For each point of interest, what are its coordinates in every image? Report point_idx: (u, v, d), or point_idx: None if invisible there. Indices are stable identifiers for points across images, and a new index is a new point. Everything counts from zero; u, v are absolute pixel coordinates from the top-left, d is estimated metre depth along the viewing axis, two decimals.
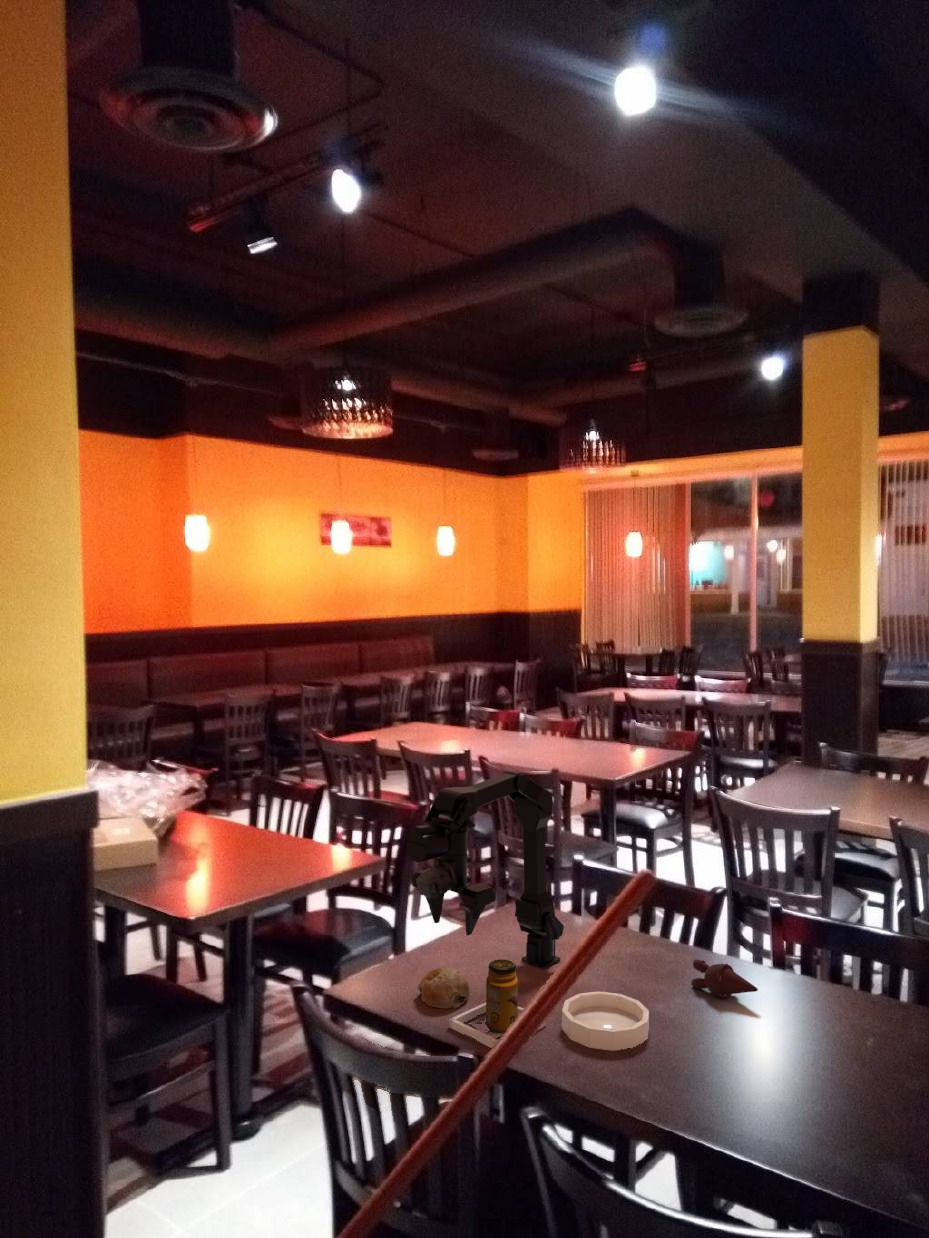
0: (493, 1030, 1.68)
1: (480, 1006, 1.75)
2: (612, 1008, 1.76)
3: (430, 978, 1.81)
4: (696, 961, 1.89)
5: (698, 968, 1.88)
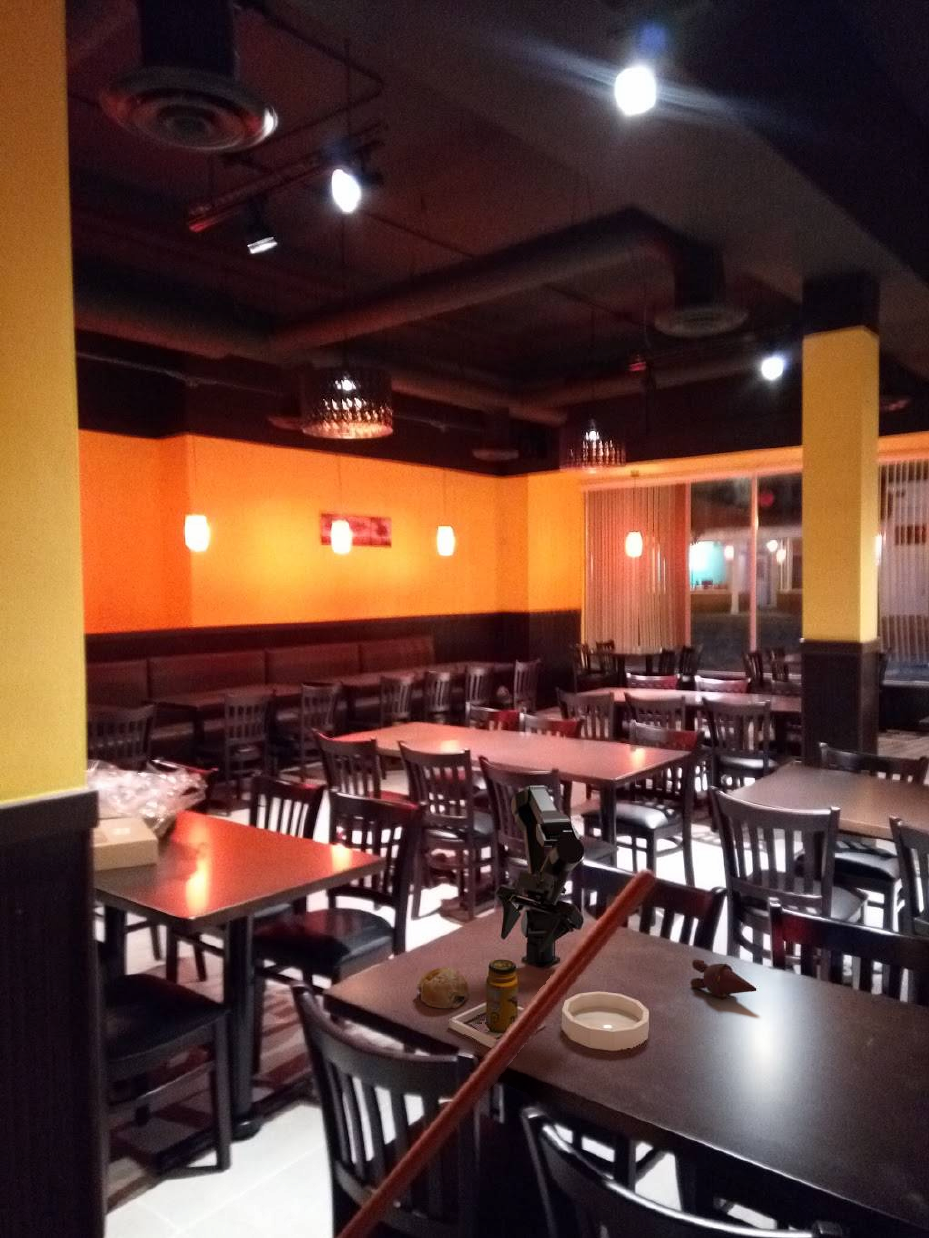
0: (493, 1030, 1.68)
1: (480, 1006, 1.75)
2: (612, 1008, 1.76)
3: (429, 978, 1.81)
4: (695, 961, 1.89)
5: (697, 968, 1.88)
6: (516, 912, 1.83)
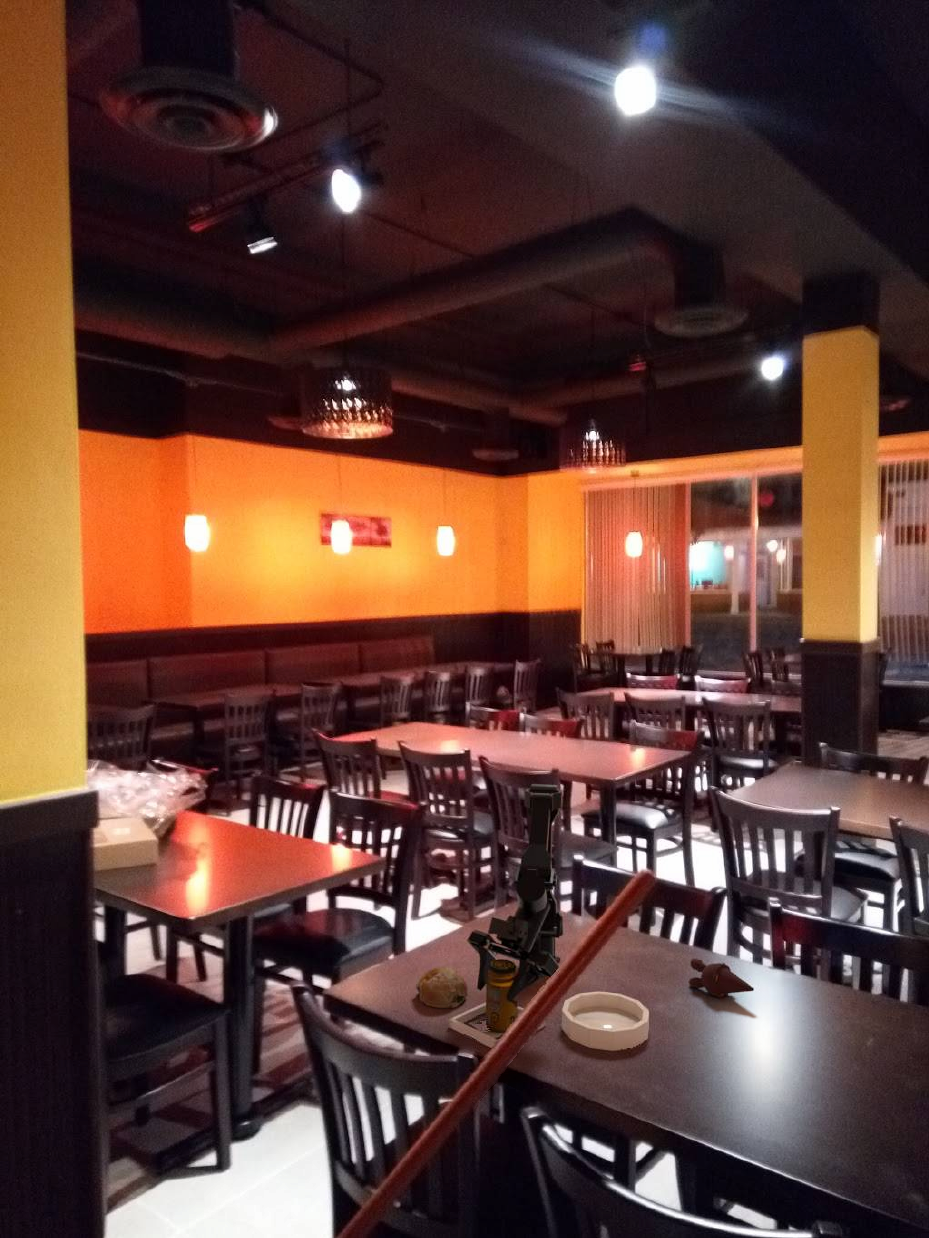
0: (493, 1030, 1.68)
1: (480, 1006, 1.75)
2: (612, 1008, 1.76)
3: (428, 978, 1.81)
4: (693, 960, 1.89)
5: (695, 967, 1.88)
6: None
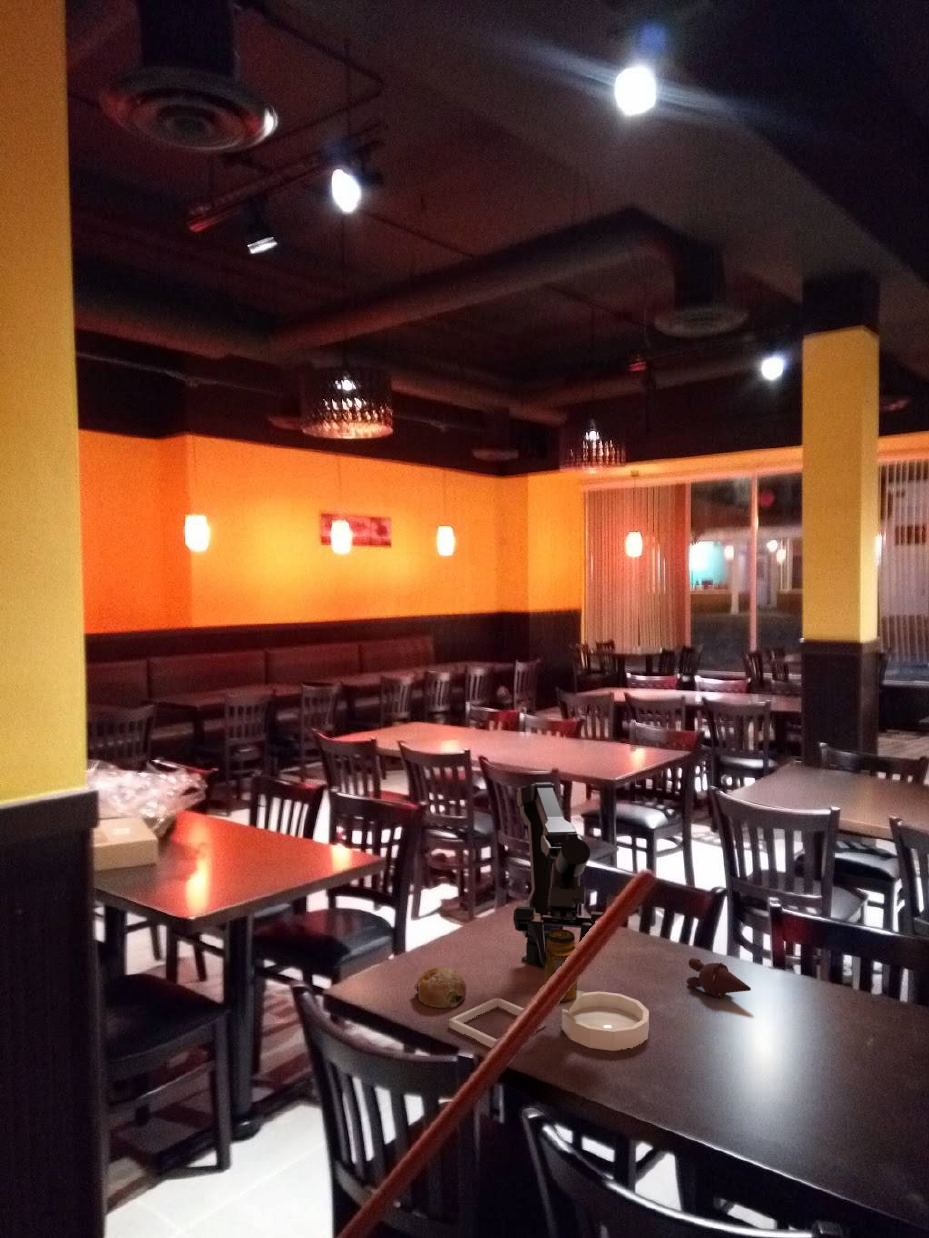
0: (560, 1001, 1.66)
1: (480, 1006, 1.75)
2: (612, 1008, 1.76)
3: (427, 978, 1.81)
4: (691, 960, 1.89)
5: (693, 967, 1.88)
6: None
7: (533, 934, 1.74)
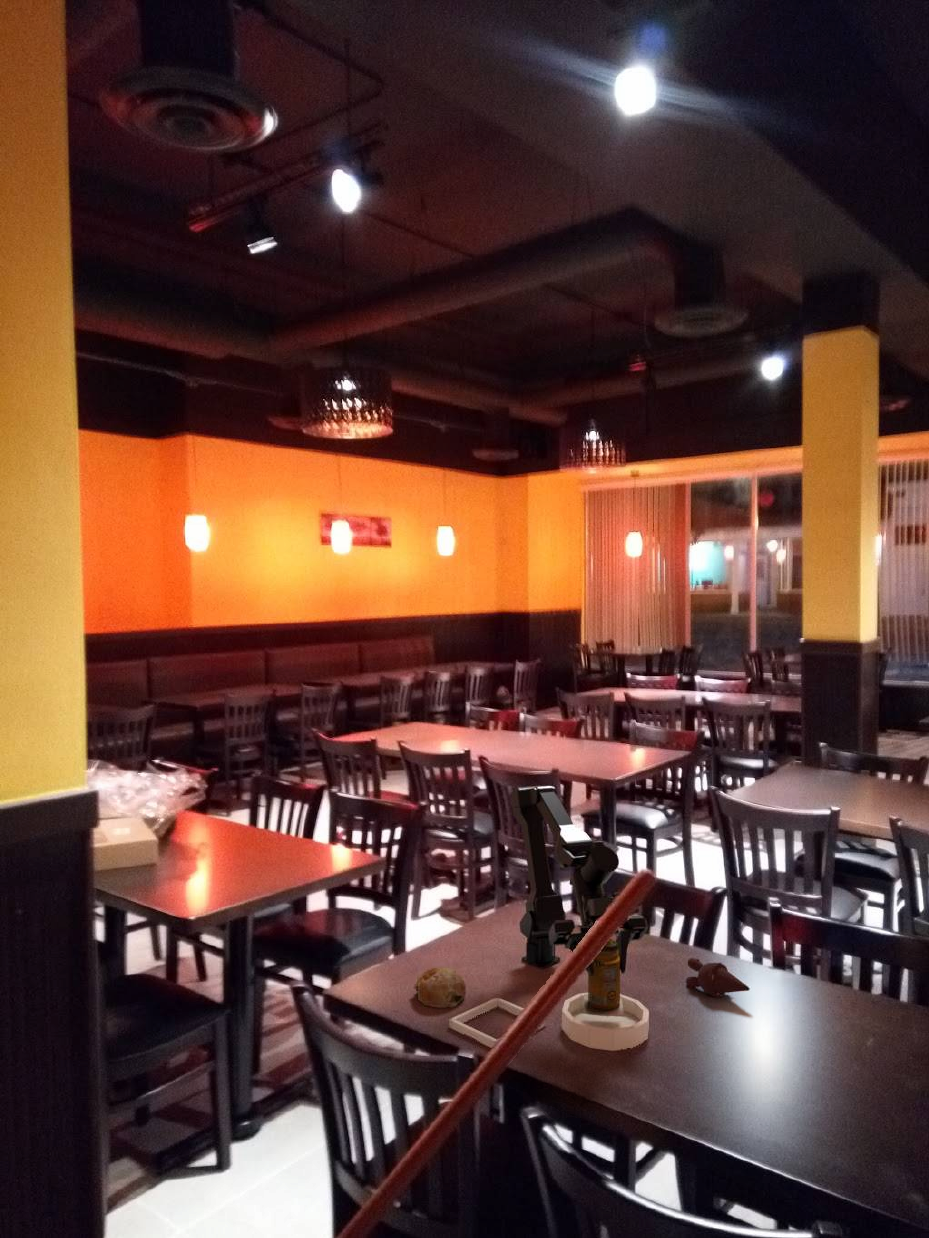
0: (610, 1009, 1.68)
1: (480, 1006, 1.75)
2: None
3: (426, 978, 1.81)
4: (690, 960, 1.89)
5: (692, 966, 1.88)
6: None
7: (569, 946, 1.73)
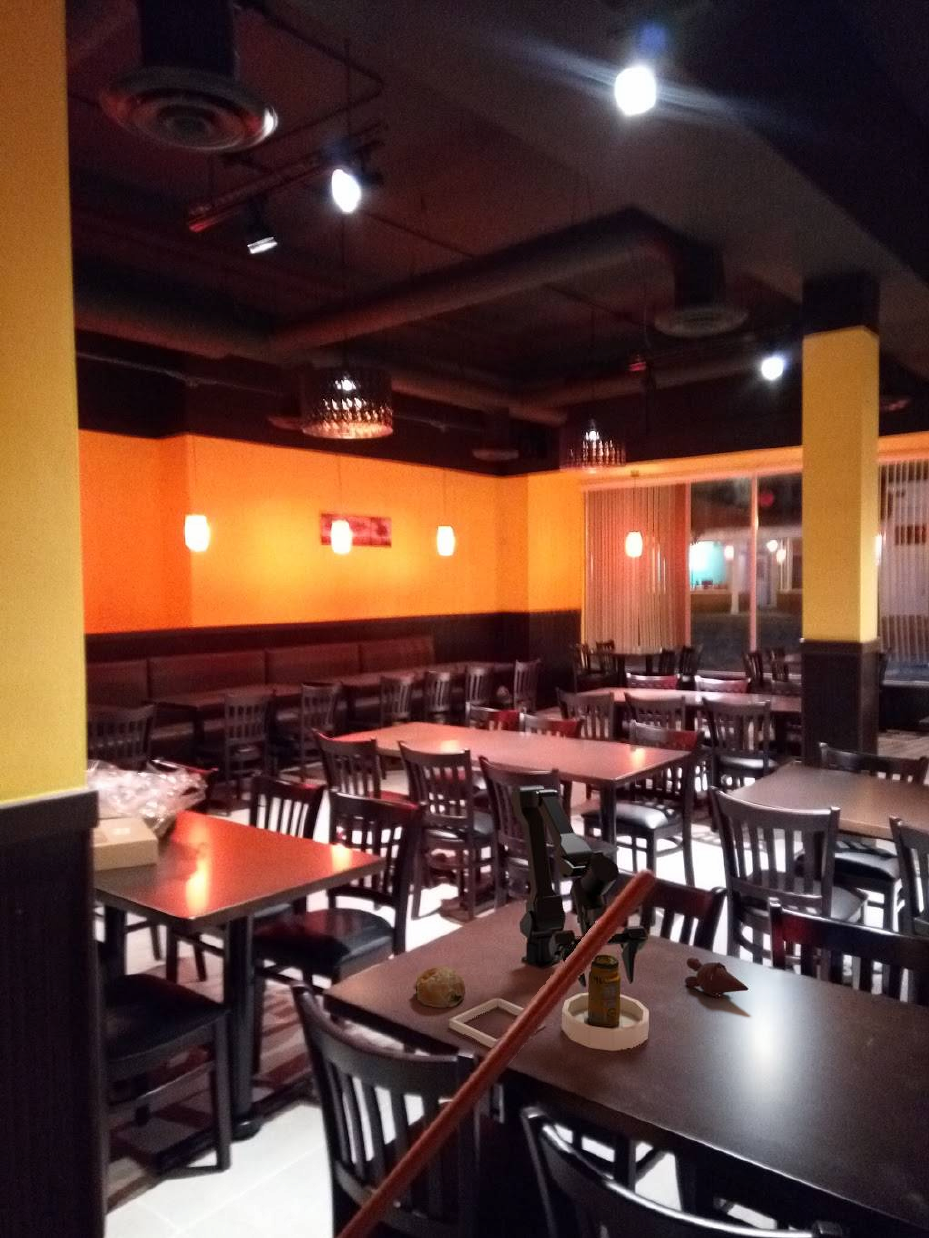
0: (609, 1027, 1.68)
1: (480, 1006, 1.75)
2: None
3: (426, 977, 1.81)
4: (690, 959, 1.89)
5: (691, 966, 1.89)
6: None
7: (562, 958, 1.73)
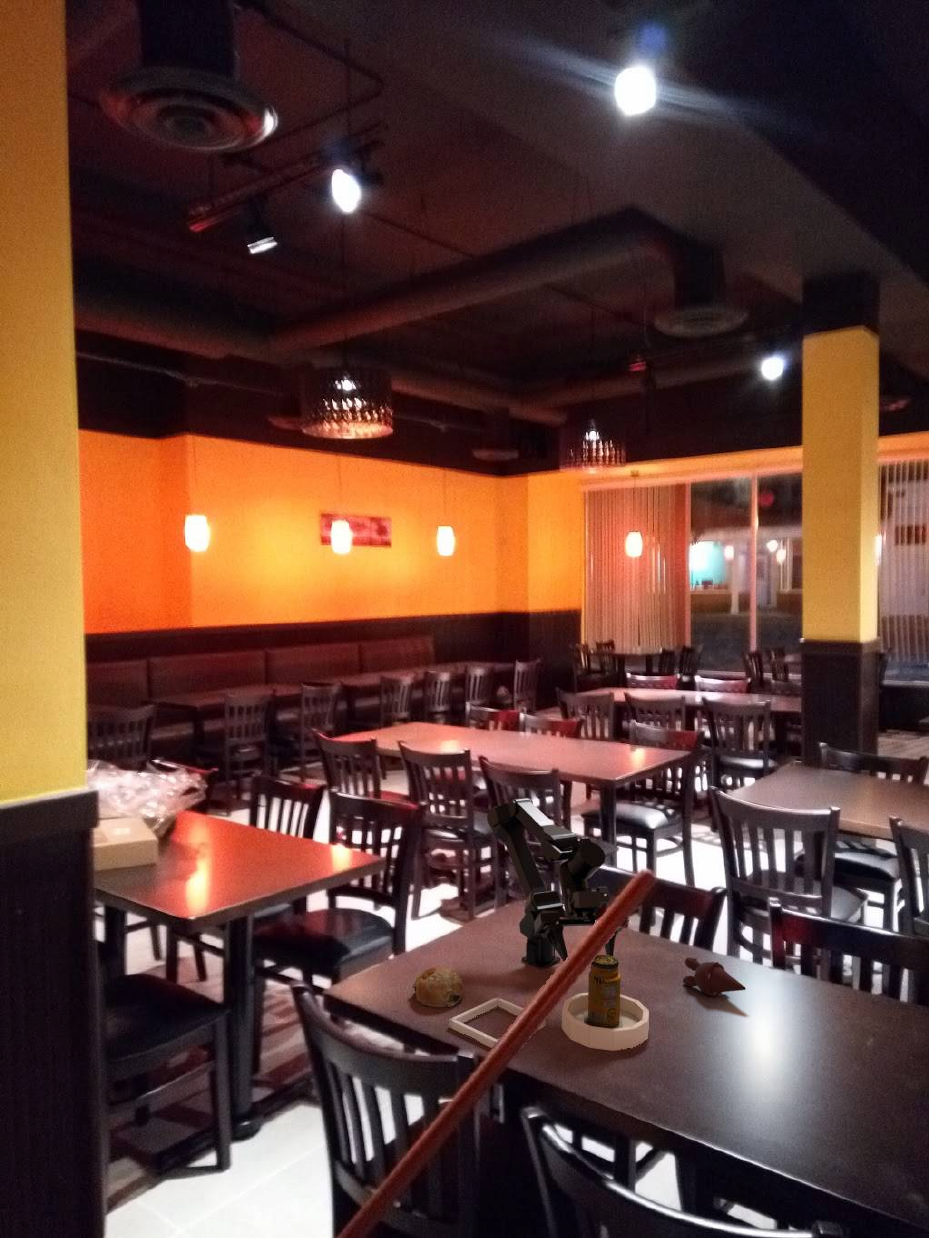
0: (609, 1027, 1.68)
1: (480, 1006, 1.75)
2: None
3: (424, 977, 1.81)
4: (688, 959, 1.90)
5: (689, 966, 1.89)
6: None
7: (547, 936, 1.82)
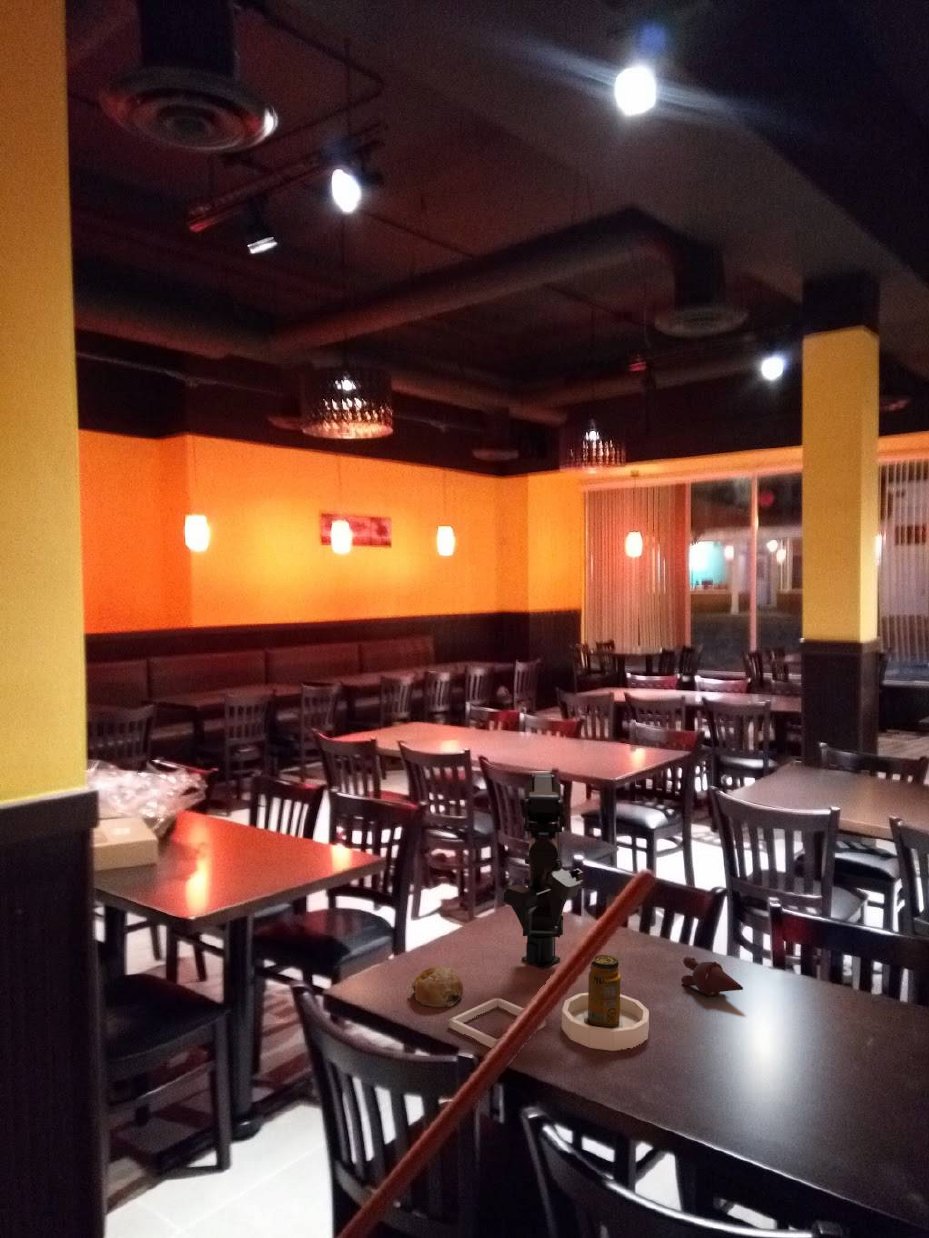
0: (609, 1027, 1.68)
1: (480, 1006, 1.75)
2: None
3: (423, 977, 1.82)
4: (686, 958, 1.90)
5: (688, 965, 1.89)
6: None
7: None
